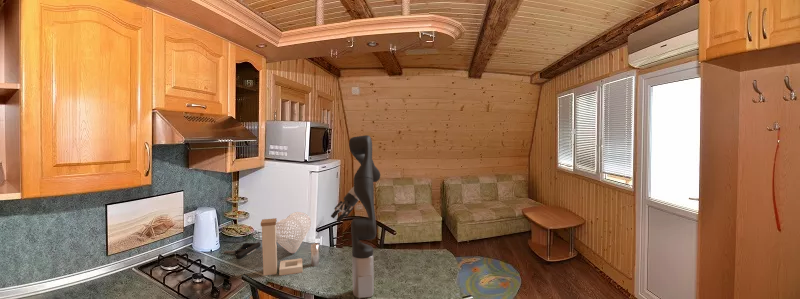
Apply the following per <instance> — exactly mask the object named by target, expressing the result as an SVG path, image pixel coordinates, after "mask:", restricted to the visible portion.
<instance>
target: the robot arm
mask: <svg viewBox="0 0 800 299" xmlns="http://www.w3.org/2000/svg"><path fill="white" fill-rule="evenodd" d="M348 146H349V150H350V153H351V154H352V156H353V157H354V158H355V159H356V161H358V163H359V165H360V166H358V168H357V170H356V172H355V174H354V176H353V187H351V188H350V190H348V192H347V193H346V195H344V197H343V201H342V200H340V201H339V202H338V204H337V205H336V206H335V207H334V208H333V209H334V211H333V212H332V213H331V215H330V218H332V219H335V218H336V216H338V214H339V213H340V212H341V213H340V214H339V216H338V217H337V218H336V221H337V222H338V223H340V222H342V220H343V219H344V218H345V217H346V218H347V217H348V216H349V215H350V213H351V212H352V211H353V209H354V208H355V206H356V205H357V203H358V202H360V203H361V204H362V206H363V208H364V210H365V211H366V213H367V217H363V218H362V217H357V218H353V219H352V220H351V224H350V229H351V231H350V232H351V246H352V248H351V249H352V250H351V252H352V253H351V254H352V255H351V256H352V257H351V260H352V262H351V263H352V264H351V265H352V295H353V296H354V297H356V298H357V299H365V298H371V297H373V294H374V292H375V285H374V284H375V280H374V272H375V270H374V269H375V267H374V264H375V263H374V248H373V246H372V245H370V244H366V243H364V242H362V241H365V240H367V241H368V240H374V239H376V237H377V221H376V219H377V218H376V210H375V209H376V208H375V201H374V200H375V198H374V197H375V192H374V191H375V189H374V188H375V185H374V183H376V182H378V181H380V179H381V171H380V170H379V169H378V168H377V167H376V166H375V161H374V160H373V140H372V137H371V136H370V135H359V136H353V137H350V138H349V142H348Z"/></svg>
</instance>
